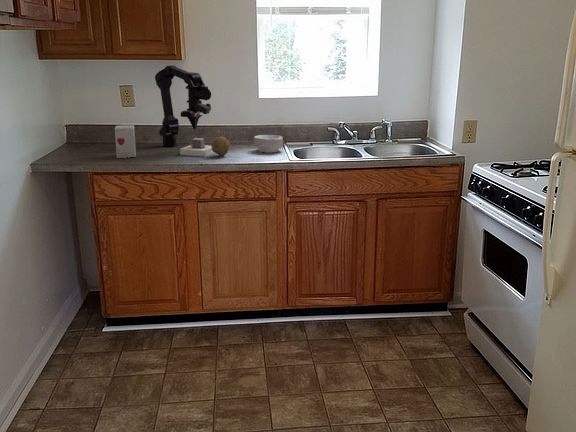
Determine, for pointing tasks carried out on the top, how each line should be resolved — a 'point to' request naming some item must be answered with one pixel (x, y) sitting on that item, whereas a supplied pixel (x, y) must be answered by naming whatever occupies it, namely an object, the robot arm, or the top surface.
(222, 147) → the natural sponge
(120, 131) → the supplement box
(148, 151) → the top surface
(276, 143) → the white bowl
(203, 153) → the socket plate
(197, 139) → the plug
